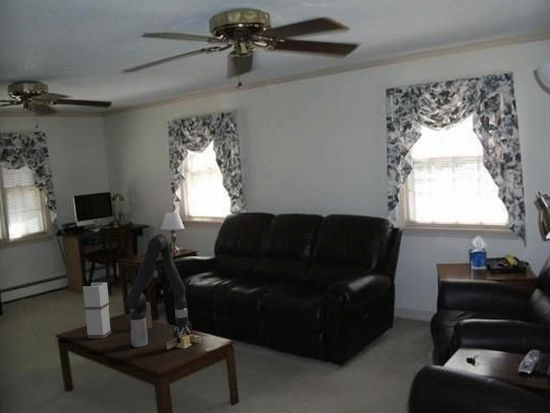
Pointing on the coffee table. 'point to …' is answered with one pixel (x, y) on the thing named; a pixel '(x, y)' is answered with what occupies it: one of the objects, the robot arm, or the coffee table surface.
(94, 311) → the stacked white cabinet
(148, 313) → the wooden block
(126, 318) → the coffee table surface
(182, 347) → the pad
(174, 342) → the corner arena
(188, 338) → the ochre cube
